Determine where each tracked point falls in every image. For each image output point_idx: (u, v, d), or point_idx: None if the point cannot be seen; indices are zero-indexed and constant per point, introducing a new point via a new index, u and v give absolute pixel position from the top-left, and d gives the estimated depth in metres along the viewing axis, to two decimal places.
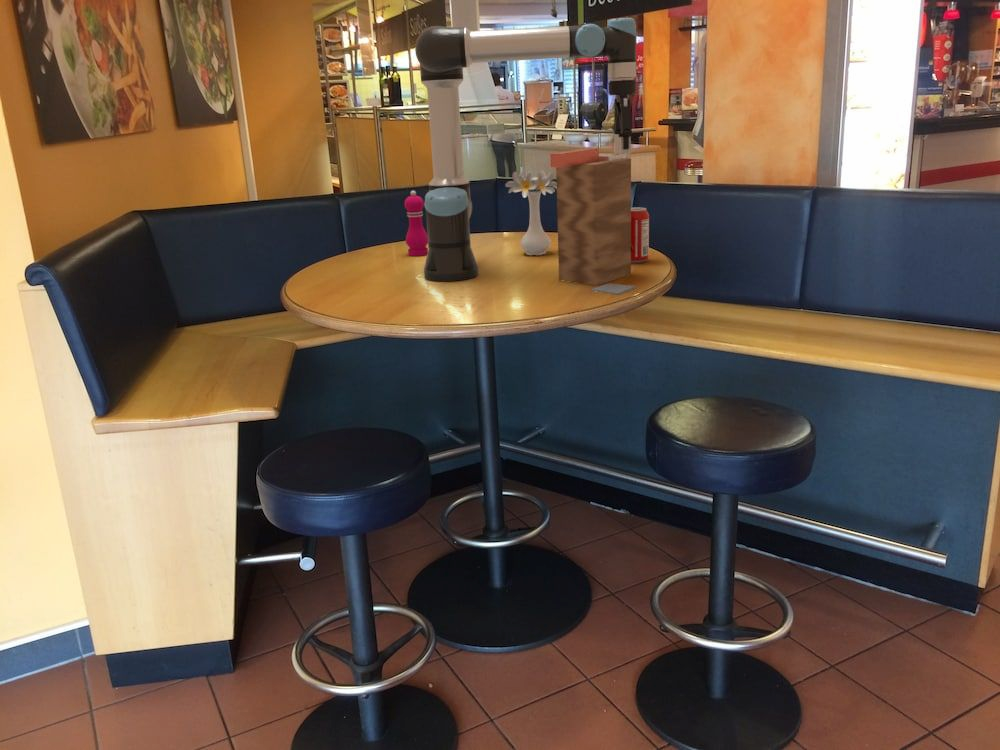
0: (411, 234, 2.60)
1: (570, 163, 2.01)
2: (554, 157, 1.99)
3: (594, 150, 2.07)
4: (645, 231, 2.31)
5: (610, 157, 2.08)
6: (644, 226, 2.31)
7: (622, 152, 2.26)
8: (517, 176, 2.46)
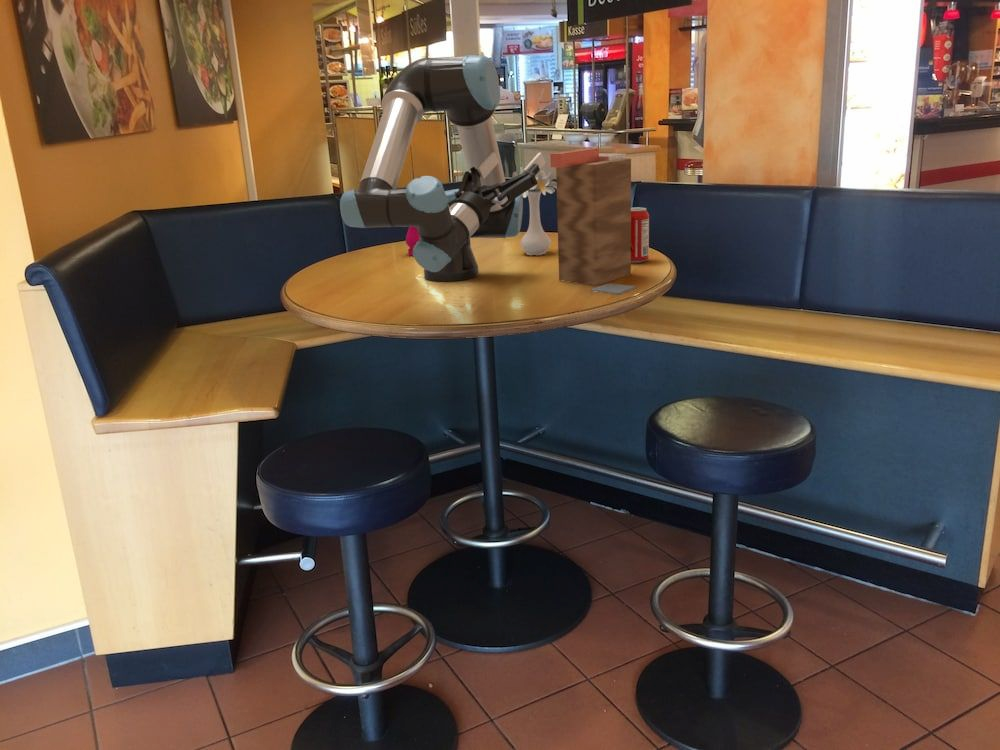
0: (411, 234, 2.60)
1: (570, 163, 2.01)
2: (554, 157, 1.99)
3: (594, 150, 2.07)
4: (645, 231, 2.31)
5: (610, 157, 2.08)
6: (644, 226, 2.31)
7: None
8: None
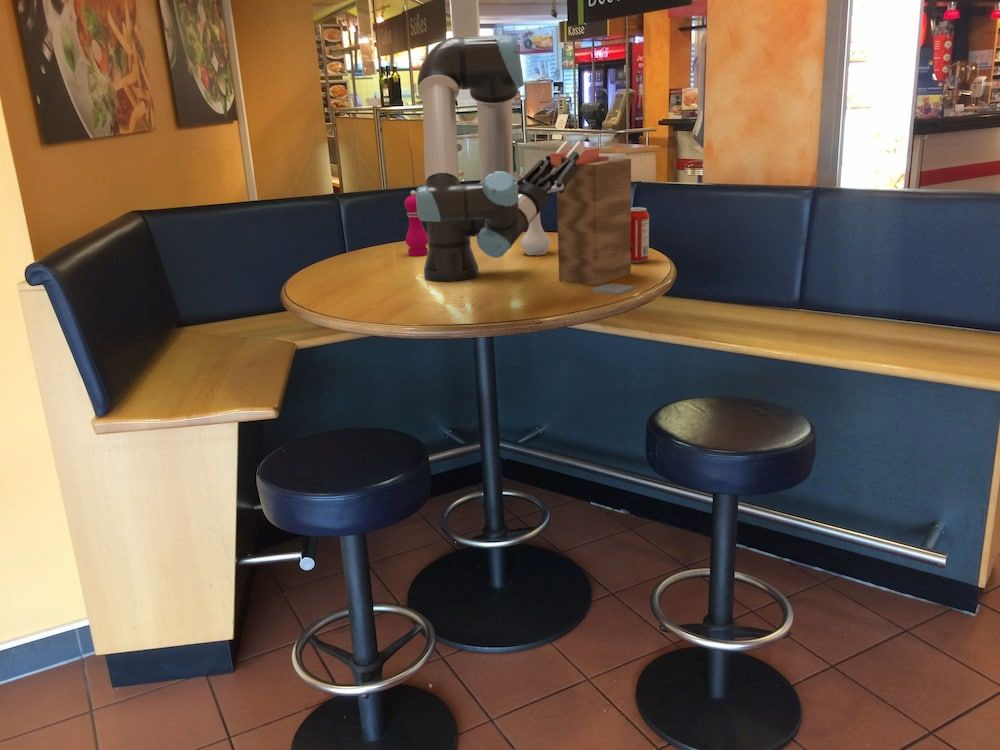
0: (411, 234, 2.60)
1: None
2: (554, 157, 1.99)
3: (594, 150, 2.07)
4: (645, 231, 2.31)
5: (610, 157, 2.08)
6: (644, 226, 2.31)
7: None
8: (517, 176, 2.46)
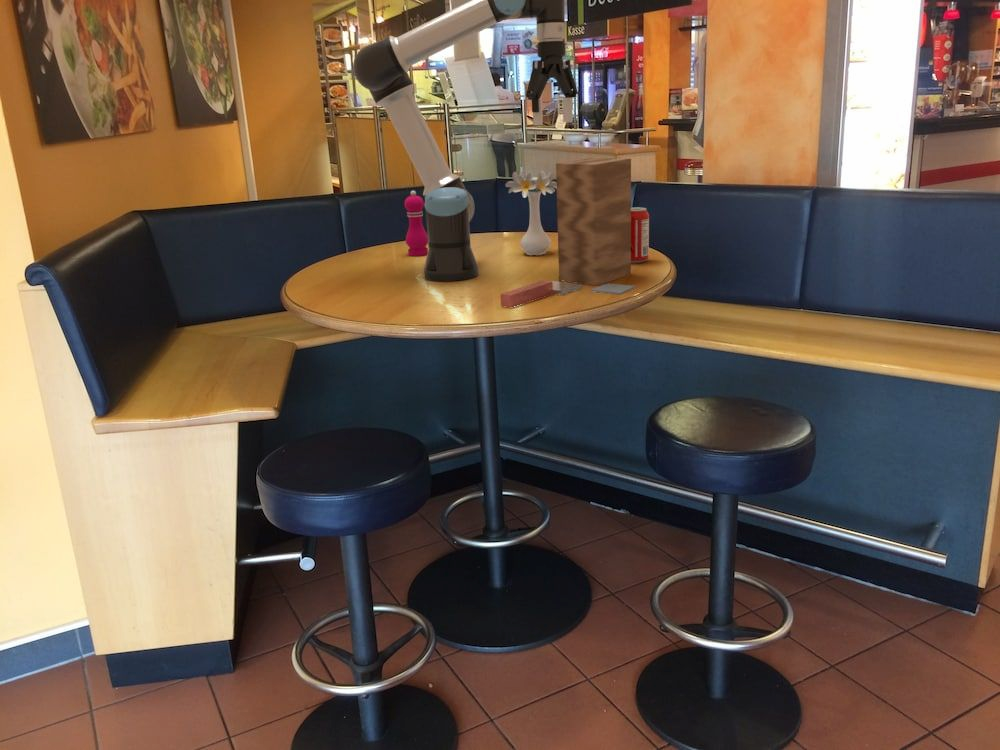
0: (411, 234, 2.60)
1: (521, 303, 1.96)
2: (504, 298, 1.94)
3: (547, 285, 2.03)
4: (645, 231, 2.31)
5: (564, 291, 2.03)
6: (644, 226, 2.31)
7: (534, 115, 2.24)
8: (517, 176, 2.46)
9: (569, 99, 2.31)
